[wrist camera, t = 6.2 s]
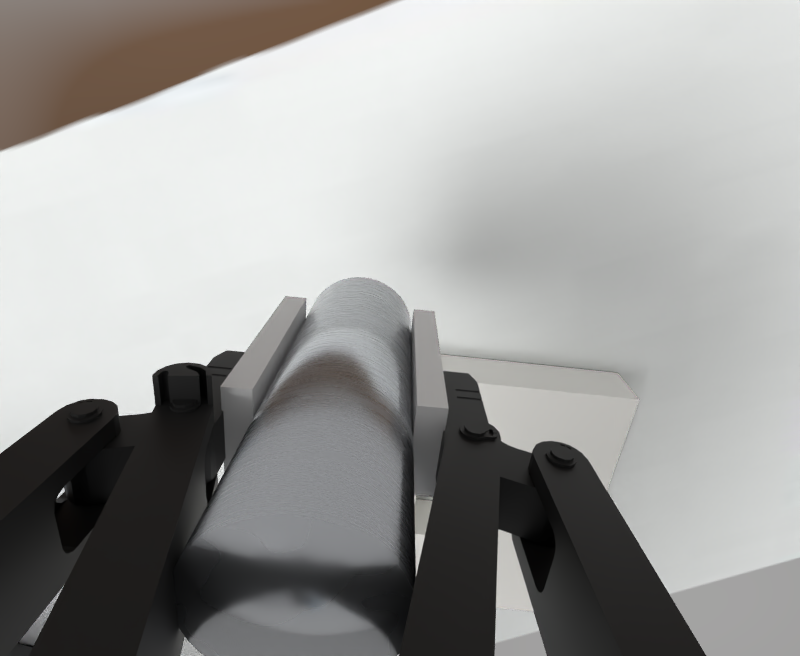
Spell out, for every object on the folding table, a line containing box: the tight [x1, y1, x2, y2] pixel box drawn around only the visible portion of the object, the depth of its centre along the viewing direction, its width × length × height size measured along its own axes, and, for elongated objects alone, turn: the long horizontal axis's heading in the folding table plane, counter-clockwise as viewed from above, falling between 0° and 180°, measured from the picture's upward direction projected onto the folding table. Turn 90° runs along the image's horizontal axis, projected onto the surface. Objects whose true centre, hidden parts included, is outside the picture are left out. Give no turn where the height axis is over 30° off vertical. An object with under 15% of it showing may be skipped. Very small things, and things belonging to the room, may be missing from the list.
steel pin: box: [173, 277, 416, 656], centre depth 13 cm, size 4×4×12 cm
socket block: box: [414, 354, 640, 612], centre depth 35 cm, size 20×20×4 cm
